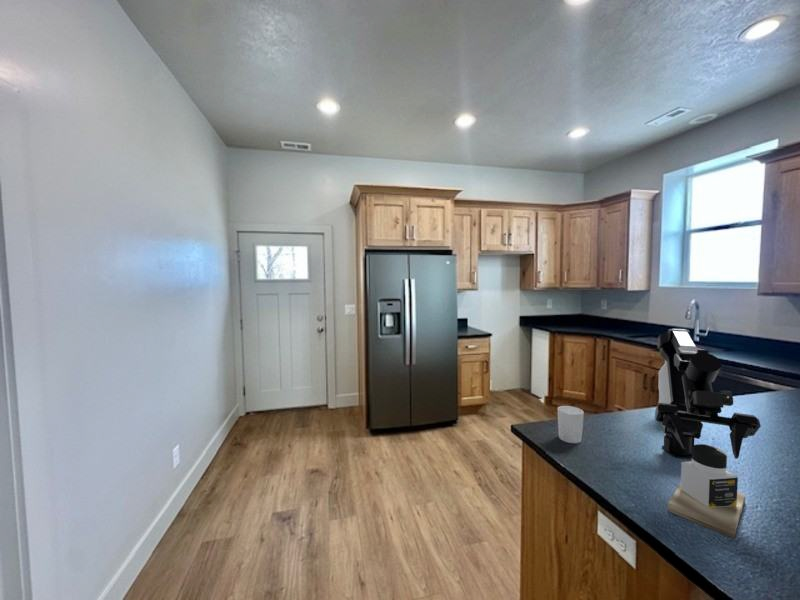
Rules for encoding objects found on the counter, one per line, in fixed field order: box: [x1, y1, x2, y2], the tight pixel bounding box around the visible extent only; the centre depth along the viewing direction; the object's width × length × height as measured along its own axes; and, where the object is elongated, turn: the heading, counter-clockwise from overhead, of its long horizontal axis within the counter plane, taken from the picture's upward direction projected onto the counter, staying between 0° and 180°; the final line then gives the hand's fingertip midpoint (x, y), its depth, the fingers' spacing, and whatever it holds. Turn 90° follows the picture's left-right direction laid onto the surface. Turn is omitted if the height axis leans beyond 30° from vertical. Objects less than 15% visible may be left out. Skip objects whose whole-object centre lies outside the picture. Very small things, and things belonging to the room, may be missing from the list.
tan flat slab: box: [667, 482, 746, 539], centre depth 80 cm, size 18×11×2 cm, turn 130°
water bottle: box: [657, 359, 671, 404], centre depth 132 cm, size 7×7×25 cm
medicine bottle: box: [680, 443, 739, 508], centre depth 79 cm, size 7×7×12 cm
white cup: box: [557, 405, 585, 444], centre depth 114 cm, size 8×8×10 cm
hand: (709, 453), depth 79 cm, fingers open, 9 cm apart
